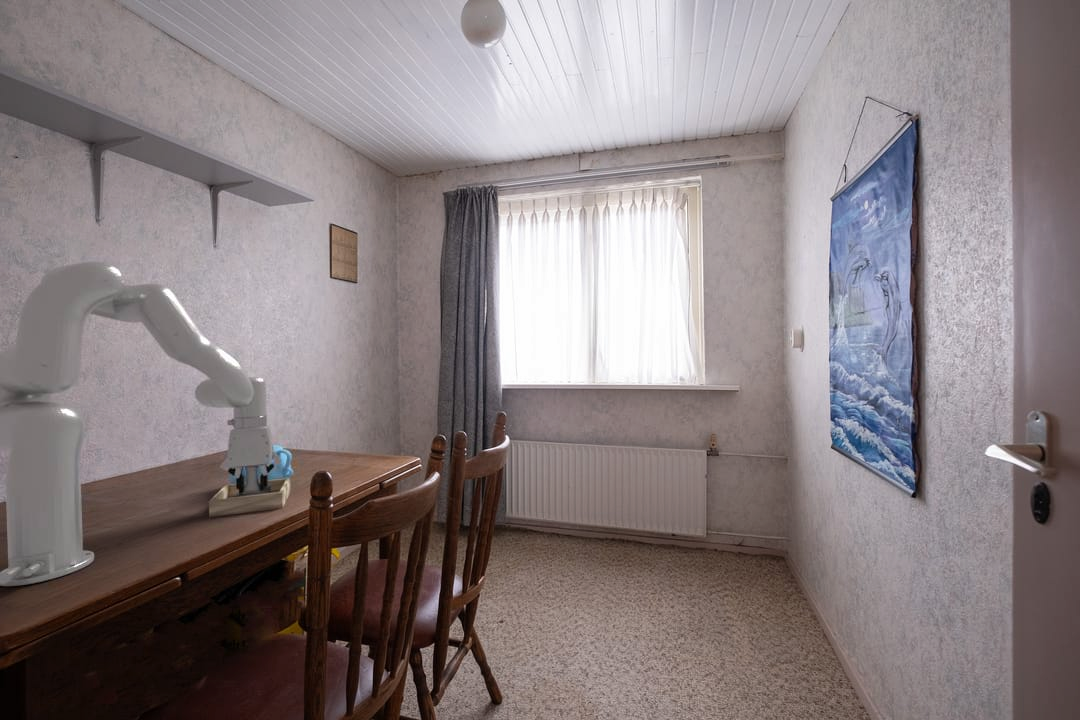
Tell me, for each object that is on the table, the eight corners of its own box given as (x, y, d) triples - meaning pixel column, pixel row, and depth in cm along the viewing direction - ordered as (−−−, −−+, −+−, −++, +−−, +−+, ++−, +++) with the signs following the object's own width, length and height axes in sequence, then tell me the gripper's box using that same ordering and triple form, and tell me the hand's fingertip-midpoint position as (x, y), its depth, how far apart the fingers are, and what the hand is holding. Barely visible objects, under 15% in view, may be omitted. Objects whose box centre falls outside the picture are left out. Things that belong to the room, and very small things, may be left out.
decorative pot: (229, 485, 144) (227, 442, 144) (287, 476, 153) (286, 435, 153) (231, 497, 131) (229, 450, 130) (295, 487, 140) (293, 442, 140)
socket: (266, 503, 122) (266, 491, 122) (233, 507, 120) (232, 495, 120) (271, 495, 130) (271, 484, 129) (240, 499, 127) (239, 488, 127)
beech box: (282, 507, 120) (282, 492, 120) (209, 517, 114) (208, 501, 114) (290, 491, 135) (290, 478, 135) (226, 499, 129) (225, 484, 129)
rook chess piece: (266, 492, 126) (265, 462, 126) (251, 496, 122) (251, 466, 122) (253, 491, 127) (252, 462, 127) (238, 495, 123) (237, 465, 123)
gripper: (209, 427, 118) (211, 498, 118) (284, 422, 124) (285, 490, 124) (217, 423, 125) (219, 490, 125) (287, 419, 131) (289, 483, 131)
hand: (252, 489), depth 124 cm, fingers closed on rook chess piece, 4 cm apart
